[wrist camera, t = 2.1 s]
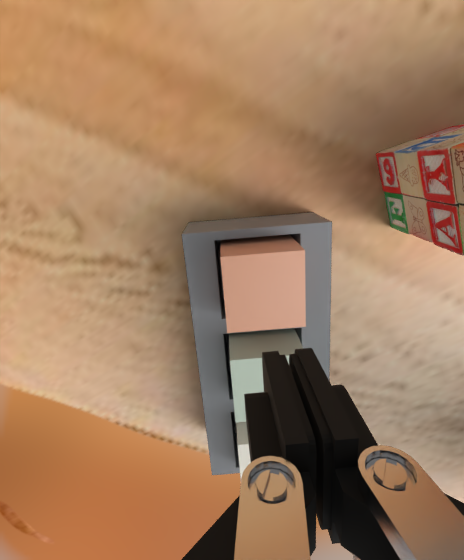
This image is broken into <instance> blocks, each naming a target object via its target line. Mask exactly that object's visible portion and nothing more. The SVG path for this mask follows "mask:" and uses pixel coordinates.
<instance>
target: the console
mask: <svg viewBox="0 0 464 560" xmlns="http://www.w3.org/2000/svg"><path fill="white" fill-rule="evenodd" d="M287 234H289V235H290V236H291V237H292V238H293V239H294V240H295V241H296V242H297V243H298V244H299V245H300V246H301V247H302V248H303V249H304V250H305V299H306V327H296V328H294V329H295V331H296V333H297V335H298V338H299V340H300V342H301V344H302V346H303V348H312V349H313V351H314V353H315V355H316V357H317V359H318V360H319V362H320V364H321V366H322V368H323V370H324V372H325V374H326V376H327V378H328V380H329V367H330V308H331V249H332V222H331V221H329V220H327V219H325V218H323V217H321V216H319V215H317V214H315V213H313V212H310V213H298V214H286V215H273V216H261V217H249V218H237V219H225V220H212V221H200V222H189V223H188V225H187V226H186V228H185V229H184V231H183V233H182V241H183V249H184V256H185V264H186V272H187V280H188V288H189V296H190V304H191V312H192V320H193V328H194V336H195V344H196V352H197V359H198V367H199V375H200V383H201V391H202V399H203V407H204V415H205V423H206V431H207V439H208V447H209V455H210V462H211V470H212V475H221V474H231V473H232V474H233V473H240V466H239V456H238V444H237V426H236V422H235V412H234V401H233V390H232V379H231V368H230V352H229V334H230V333H227V324H226V313H225V302H224V291H223V280H222V269H221V258H220V251H221V240H226V239H238V238H250V237H262V236H274V235H287ZM284 329H290V328H284ZM271 330H278V329H271ZM259 331H266V330H259ZM247 332H254V331H247ZM235 333H242V332H235Z"/></svg>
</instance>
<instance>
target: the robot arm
mask: <svg viewBox="0 0 464 560" xmlns="http://www.w3.org/2000/svg"><path fill="white" fill-rule="evenodd" d="M262 367H263V385H264V392H259V393H248V394H244V400H245V413H246V424H247V434H248V443H249V452H250V461H251V463H250V464H249V465H248V466H247V467H246V468H245V470H244V471H243V474H242V478H241V486H240V496H239V497H238V498H237V499H236V500H235V501H234V503H232V505H231V506H230V507H229V508H228V509H227V510H226V511H225V512H224V513H223V514H222V516H221V517H220V518H219V519H218V520H217V521H216V522H215V523H214V524H213V525H212V527H211V528H210V529H209V530H208V531H207V532H206V533H205V534H204V535H203V536H202V538H201V539H200V540H199V541H198V542H197V543H196V544H195V545H194V546H193V548H192V549H191V550H190V551H189V552H188V553H187V554H186V555H185V556H184V557H183V559H182V560H310V556H311V555H312V553H313V551H314V550H315V548H316V514H317V518H318V521H319V525H320V527H321V529H322V530H324V529H328V532H329V535H330V538H331V541H332V544H334V543H341V546H343V547H344V548H345V549H347V550H348V551H350V552H351V553H352V554H353V559H354V560H464V503H462V502H460V501H458V500H456V499H454V498H452V497H450V496H449V495H447V494H445V493H443V492H442V491H441V489H440V488H439V487H438V486H437V485H436V484H435V482H434V481H433V480H432V479H431V478H430V477H429V476H428V474H427V473H426V472H425V471H424V470H423V469H422V467H421V466H420V465H419V464H418V463H417V462H416V461H415V460H414V459H413V458H412V457H411V456H409V455H408V454H406V453H405V452H403V451H401V450H399V449H396V448H393V447H390V446H383V445H379V446H378V444H377V443H376V441H375V439H374V437H373V436H372V434H371V432H370V430H369V429H368V427H367V425H366V423H365V422H364V420H363V418H362V416H361V415H360V413H359V411H358V409H357V408H356V406H355V404H354V403H353V401H352V399H351V397H350V396H349V394H348V392H347V390H346V389H345V387H344V386H343V385H334V386H332V385H331V384H330V382H329V380H328V378H327V376H326V374H325V372H324V370H323V368H322V366H321V364H320V362H319V360H318V359H317V357H316V355H315V353H314V351H313V349H312V348H303V349H295V352H294V354H289V364H288V361H287V358H286V356H285V354H284V355H280V354H279V351H270V352H262Z"/></svg>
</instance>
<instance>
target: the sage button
mask: <svg viewBox="0 0 464 560" xmlns="http://www.w3.org/2000/svg"><path fill="white" fill-rule="evenodd" d="M295 349H303V346H302V344H301V342H300V340H299V338H298V335H297V333H296V331H295V329H294V328H290V329H278V330H266V331H254V332H242V333H230V334H229V352H230V368H231V379H232V390H233V401H234V412H235V422H246V413H245V400H244V394H248V393H259V392H264V385H263V367H262V352H270V351H279V354H280V355H284V354H285V356H286V358H287V361H288V364H289V354H294V352H295Z"/></svg>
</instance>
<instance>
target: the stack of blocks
mask: <svg viewBox="0 0 464 560" xmlns="http://www.w3.org/2000/svg"><path fill="white" fill-rule="evenodd" d="M376 157H377V162H378V167H379V172H380V177H381V182H382V187H383V191H384V194H385V199H386V204H387V210H388V215H389V220H390V226H391V227H392V228H394V229H397V230H399V231H401V232H404V233H406V234H412V235H414V236H416V237H419V238H421V239H424V240H426V241H429V242H433V243H434V244H435V245H437V246H439V247H442V248H445V249H447V250H450V251H451V252H455V253H457V254H460V255H464V123H463V124H461V125H458V126H452V127H450V128H447V129H444V130H441V131H438V132H435V133H432V134H429V135H427V136H424V137H421V138H418V139H415V140H411V141H408V142H405V143H403V144H400V145H397V146H394V147H391V148H388V149H385V150H383V151H380V152H378V153H376Z"/></svg>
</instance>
